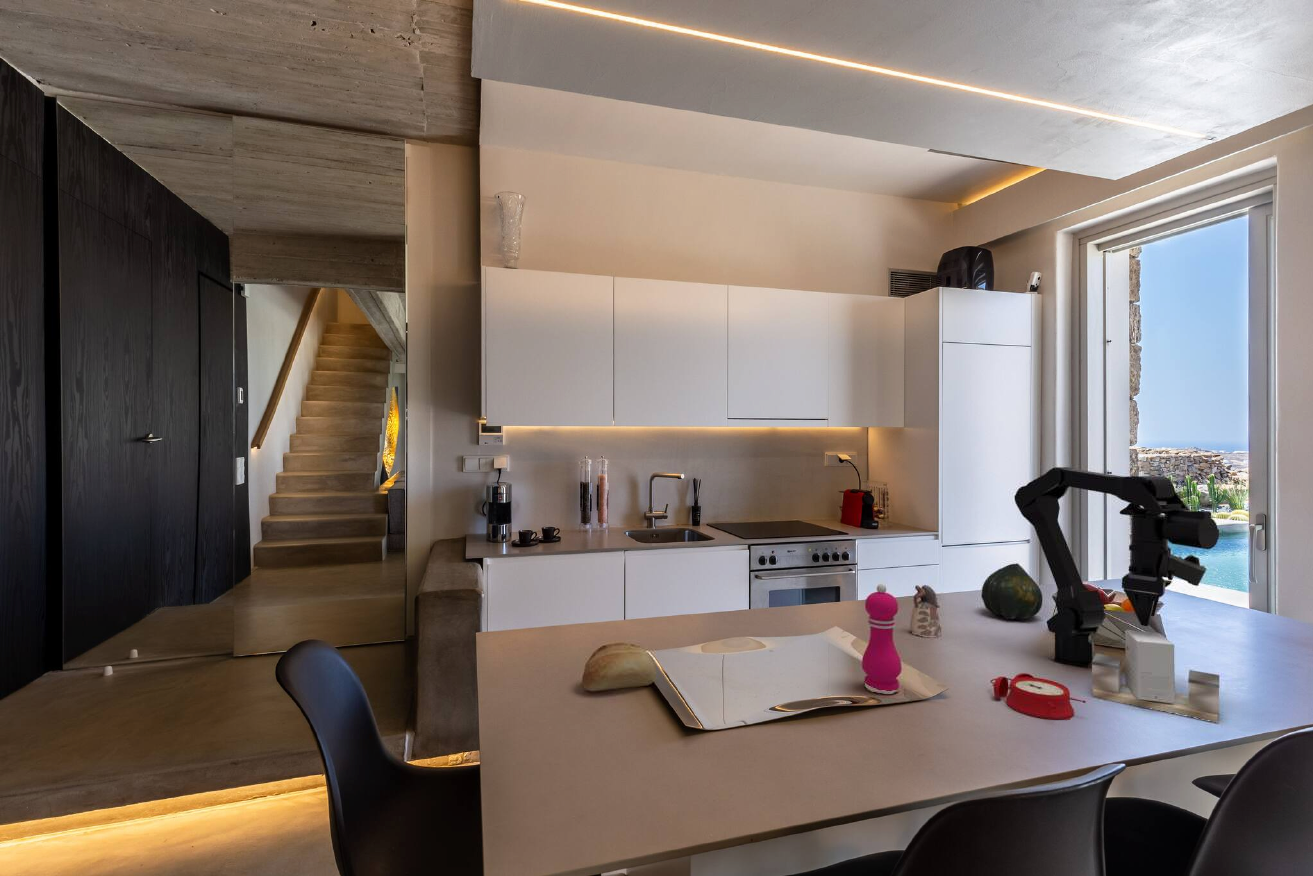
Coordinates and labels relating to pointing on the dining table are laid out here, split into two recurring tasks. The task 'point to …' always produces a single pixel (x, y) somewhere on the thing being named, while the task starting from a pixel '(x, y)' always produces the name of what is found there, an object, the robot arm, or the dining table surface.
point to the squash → (1012, 593)
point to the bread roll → (618, 668)
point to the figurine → (925, 612)
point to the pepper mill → (881, 642)
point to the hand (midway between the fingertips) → (1147, 620)
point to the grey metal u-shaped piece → (1195, 705)
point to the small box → (1150, 666)
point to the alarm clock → (1035, 696)
